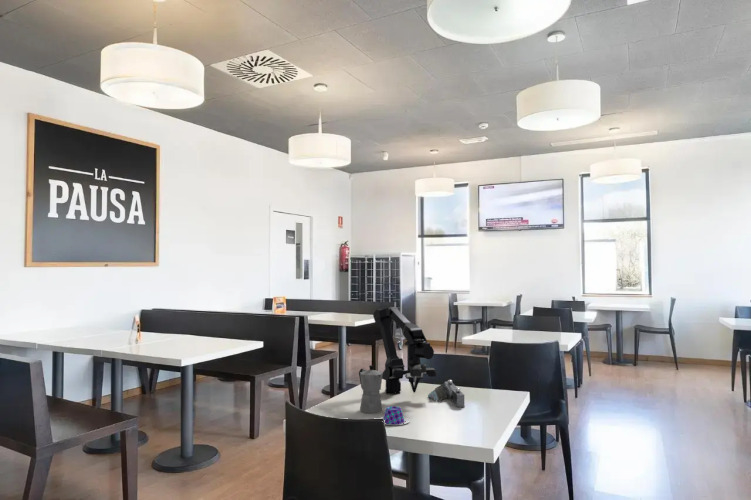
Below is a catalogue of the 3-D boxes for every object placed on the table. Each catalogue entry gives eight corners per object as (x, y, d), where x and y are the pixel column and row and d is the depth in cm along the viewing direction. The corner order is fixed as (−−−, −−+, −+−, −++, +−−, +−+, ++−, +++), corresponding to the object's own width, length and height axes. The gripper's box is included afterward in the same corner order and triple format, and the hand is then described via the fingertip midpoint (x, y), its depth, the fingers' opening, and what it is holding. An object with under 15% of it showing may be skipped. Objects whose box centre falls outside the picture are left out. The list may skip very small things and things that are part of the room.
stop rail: (457, 407, 205) (457, 391, 206) (444, 392, 231) (444, 378, 232) (464, 407, 206) (464, 390, 206) (451, 392, 232) (450, 378, 232)
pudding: (389, 415, 194) (389, 402, 194) (416, 421, 187) (416, 407, 187) (371, 423, 185) (371, 408, 185) (398, 429, 177) (398, 414, 178)
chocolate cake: (422, 396, 226) (427, 382, 218) (434, 390, 229) (440, 376, 221) (434, 414, 220) (440, 399, 212) (446, 407, 224) (453, 393, 216)
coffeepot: (390, 412, 197) (390, 366, 198) (370, 416, 192) (370, 369, 193) (369, 404, 210) (369, 361, 211) (349, 407, 205) (349, 363, 206)
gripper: (394, 359, 211) (394, 397, 210) (438, 359, 212) (438, 396, 211) (392, 355, 222) (392, 391, 221) (433, 355, 223) (434, 390, 222)
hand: (414, 392), depth 218 cm, fingers closed
